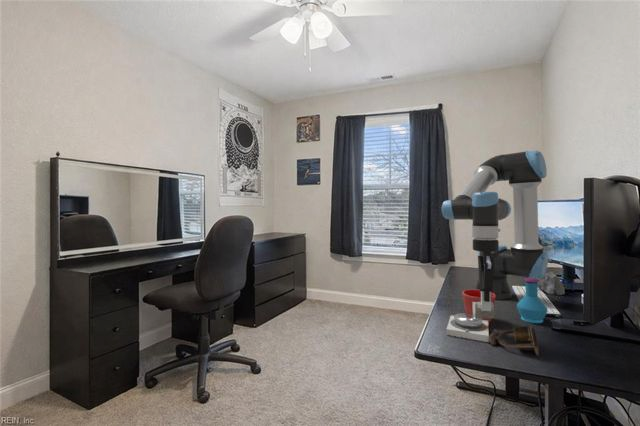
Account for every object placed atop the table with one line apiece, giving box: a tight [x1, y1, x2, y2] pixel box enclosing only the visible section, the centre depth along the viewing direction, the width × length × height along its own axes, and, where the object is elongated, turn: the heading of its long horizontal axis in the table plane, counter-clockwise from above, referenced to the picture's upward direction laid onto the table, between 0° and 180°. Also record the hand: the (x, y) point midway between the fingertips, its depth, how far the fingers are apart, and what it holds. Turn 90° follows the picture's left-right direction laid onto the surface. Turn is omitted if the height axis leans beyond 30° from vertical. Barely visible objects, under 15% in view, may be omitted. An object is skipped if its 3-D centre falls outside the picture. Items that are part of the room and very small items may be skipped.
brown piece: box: [488, 325, 540, 356], centre depth 89 cm, size 7×13×10 cm
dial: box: [453, 302, 495, 328], centre depth 101 cm, size 12×8×7 cm
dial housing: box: [446, 315, 490, 343], centre depth 102 cm, size 14×12×2 cm
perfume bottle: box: [516, 277, 548, 324], centre depth 110 cm, size 9×9×15 cm
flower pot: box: [461, 289, 496, 323], centre depth 111 cm, size 11×11×10 cm
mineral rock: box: [537, 271, 566, 296], centre depth 145 cm, size 13×11×10 cm
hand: (486, 310), depth 99 cm, fingers closed
